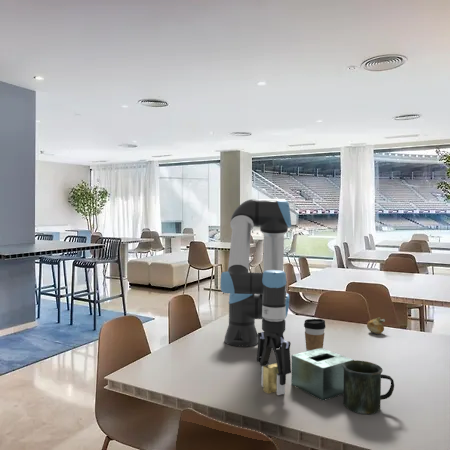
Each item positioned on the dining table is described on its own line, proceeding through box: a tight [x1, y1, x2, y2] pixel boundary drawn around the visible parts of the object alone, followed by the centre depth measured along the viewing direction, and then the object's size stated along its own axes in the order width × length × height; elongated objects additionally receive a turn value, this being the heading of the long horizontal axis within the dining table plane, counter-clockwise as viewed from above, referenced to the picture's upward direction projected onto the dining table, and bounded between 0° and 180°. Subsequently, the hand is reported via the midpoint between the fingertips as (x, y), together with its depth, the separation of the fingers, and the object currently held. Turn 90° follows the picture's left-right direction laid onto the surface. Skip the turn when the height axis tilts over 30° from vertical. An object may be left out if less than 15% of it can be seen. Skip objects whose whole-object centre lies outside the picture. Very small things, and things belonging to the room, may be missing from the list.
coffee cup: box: [303, 318, 326, 352], centre depth 160 cm, size 8×8×15 cm
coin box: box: [291, 347, 354, 401], centre depth 132 cm, size 14×14×10 cm
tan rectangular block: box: [262, 362, 279, 394], centre depth 129 cm, size 2×6×8 cm, turn 123°
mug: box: [342, 359, 395, 415], centre depth 118 cm, size 11×15×12 cm
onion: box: [366, 316, 386, 335], centre depth 196 cm, size 8×8×8 cm
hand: (272, 389), depth 129 cm, fingers open, 7 cm apart
